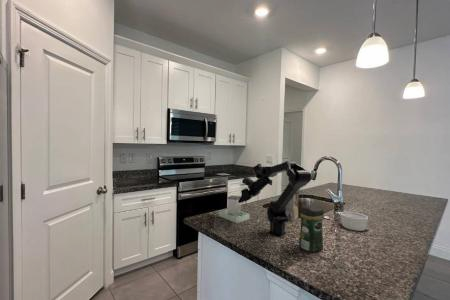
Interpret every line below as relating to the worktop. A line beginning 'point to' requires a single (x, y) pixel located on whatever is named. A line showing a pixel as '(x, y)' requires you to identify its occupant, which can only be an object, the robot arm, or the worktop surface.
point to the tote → (231, 218)
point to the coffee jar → (311, 228)
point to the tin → (234, 206)
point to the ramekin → (354, 221)
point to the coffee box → (293, 207)
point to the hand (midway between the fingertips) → (241, 200)
